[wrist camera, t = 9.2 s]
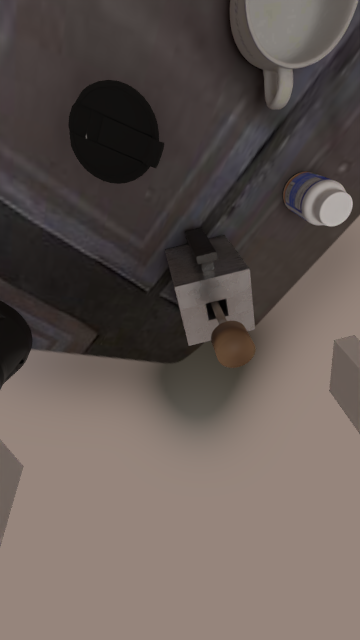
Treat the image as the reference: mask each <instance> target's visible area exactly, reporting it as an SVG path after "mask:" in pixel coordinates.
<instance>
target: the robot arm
mask: <svg viewBox="0 0 360 640" xmlns="http://www.w3.org/2000/svg"><path fill="white" fill-rule="evenodd" d="M31 346H32V336H31V332H30V329H29V327H28V325H27V323H26V322H25V321H24V319H23V318H22V317H21V316H20V315H19V314H18V313H17V312H16V311H15V310H14V309H12V308H11V307H9V306H8V305H6V304H4V303H2V302H0V389H1V387H2V385H3V384H4V383H5V382H6V381H7V380H8V379H9V378H10V377H11V376H12V375H13V374H15V373H16V372H17V371H18V370H19V369H20V368H21V367H22V366H23V364H24V363H25V361H26V360H27V357H28V355H29V352H30V350H31ZM329 391H330V392H331V394H332V395H333V396H334V398H335V399H336V400H337V402H338V404H339V405H340V407H341V408H342V409H343V411H344V412H345V414H346V415H347V416H348V418H349V419H350V421H351V422H352V423H353V425H354V426H355V428H356V429H357V431H358V432H359V433H360V340H359V339H358V338H357V337H356V336H355V335H353V336H349V337H345V338H341V339H337V340H334V348H333V358H332V369H331V380H330V390H329ZM22 469H23V465H22V464H21V463H20V462H19V461H18V460H17V458H16V457H15V456H14V455H13V454H12V453H11V452H10V450H9V449H8V448H7V447H6V446H5V444H4V443H3V442H2V441H1V440H0V546H1V542H2V538H3V535H4V532H5V528H6V525H7V521H8V518H9V514H10V511H11V508H12V504H13V501H14V497H15V494H16V490H17V487H18V483H19V480H20V476H21V473H22Z"/></svg>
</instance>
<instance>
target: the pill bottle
mask: <svg viewBox="0 0 360 640" xmlns="http://www.w3.org/2000/svg"><path fill="white" fill-rule="evenodd" d="M283 200H284V203H285V205H286V206H287V208H288V209H290V210H291V211H292V212H294V213H296V214H297V215H299V216H300V217H302V218H303V219H305V220H306V221H308V222H309V223H311V224H314V225H326V226H336V225H339V224H341V223H342V222H343V221H345V220H346V219H347V217H348V216H349V214H350V212H351V210H352V206H353V203H352V198H351V197H350V195H349V194H347V193H346V191H345V189H344V187H343V186H342V185H341V184H340V183H338V182H336V181H334V180H331V179H328V178H325V177H323V176H320V175H317V174H315V173H312V172H300V173H298V174H296V175H294V176H293V177H292V178H291V179H290V180H289V181H288V182H287V184H286V186H285V188H284V192H283Z"/></svg>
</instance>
